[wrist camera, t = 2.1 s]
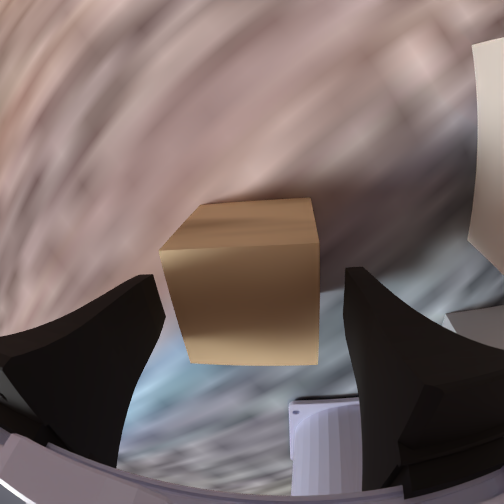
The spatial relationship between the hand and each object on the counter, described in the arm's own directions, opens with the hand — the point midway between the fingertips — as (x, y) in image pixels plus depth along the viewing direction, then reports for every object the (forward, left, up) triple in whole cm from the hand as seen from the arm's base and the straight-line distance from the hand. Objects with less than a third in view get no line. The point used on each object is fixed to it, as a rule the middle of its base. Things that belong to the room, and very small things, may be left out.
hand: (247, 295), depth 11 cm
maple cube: (0, 0, -4) cm, 4 cm away
